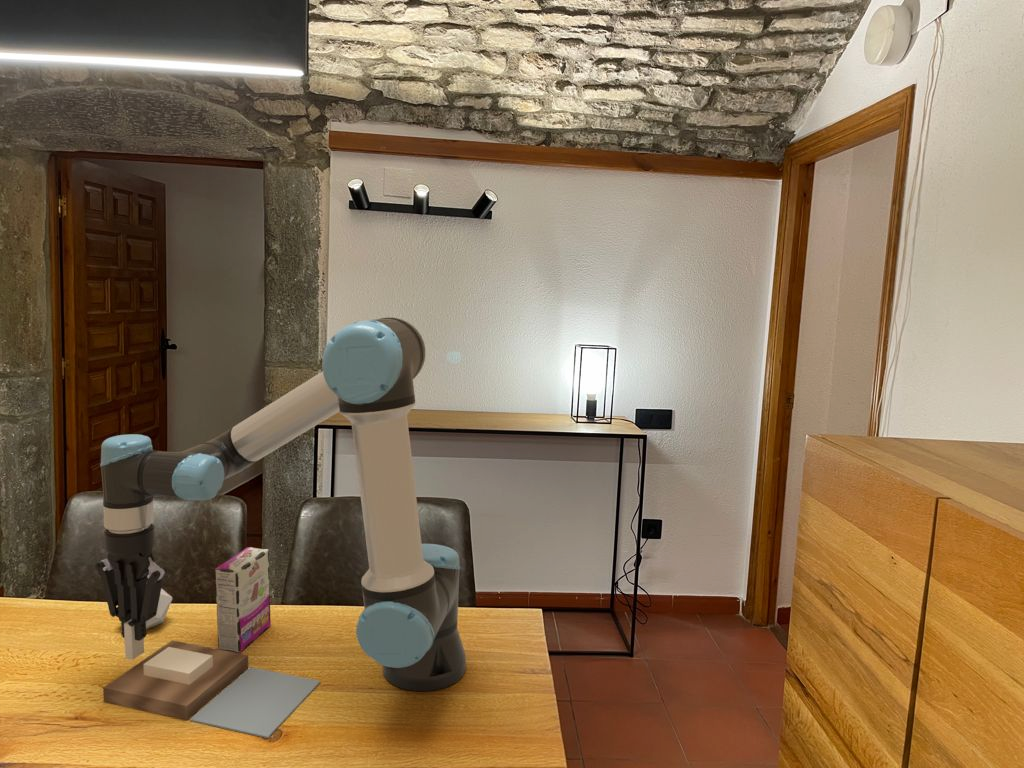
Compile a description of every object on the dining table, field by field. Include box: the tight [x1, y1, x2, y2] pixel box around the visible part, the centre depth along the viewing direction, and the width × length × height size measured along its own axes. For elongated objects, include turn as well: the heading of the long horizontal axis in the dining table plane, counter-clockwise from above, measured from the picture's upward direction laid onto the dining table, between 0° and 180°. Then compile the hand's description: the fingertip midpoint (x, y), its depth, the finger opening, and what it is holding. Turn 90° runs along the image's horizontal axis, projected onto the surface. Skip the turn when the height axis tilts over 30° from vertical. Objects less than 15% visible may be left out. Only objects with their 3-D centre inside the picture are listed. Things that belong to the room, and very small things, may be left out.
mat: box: [189, 666, 321, 739], centre depth 119 cm, size 14×16×1 cm
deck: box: [102, 640, 249, 721], centre depth 123 cm, size 16×16×2 cm
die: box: [146, 583, 173, 630], centre depth 142 cm, size 8×9×10 cm
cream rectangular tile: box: [143, 647, 213, 685], centre depth 122 cm, size 9×6×2 cm, turn 76°
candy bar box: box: [214, 546, 272, 654], centre depth 138 cm, size 11×5×16 cm, turn 168°
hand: (135, 655), depth 125 cm, fingers closed
